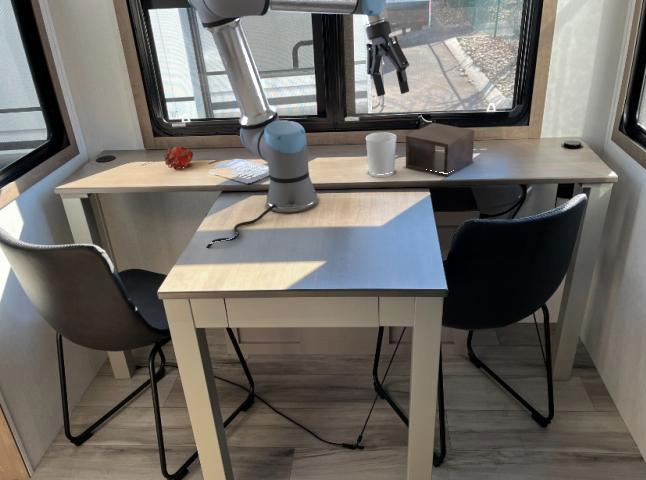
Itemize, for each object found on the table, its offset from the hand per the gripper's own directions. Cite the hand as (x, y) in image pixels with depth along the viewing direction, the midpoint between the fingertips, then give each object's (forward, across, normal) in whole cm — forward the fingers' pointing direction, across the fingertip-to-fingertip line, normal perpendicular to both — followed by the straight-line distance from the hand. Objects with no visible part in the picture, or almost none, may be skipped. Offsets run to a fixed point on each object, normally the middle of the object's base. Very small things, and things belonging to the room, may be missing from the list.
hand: (393, 94), depth 188 cm
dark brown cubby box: (+26, -4, -9) cm, 28 cm away
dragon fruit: (+5, +51, +61) cm, 79 cm away
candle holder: (+23, +2, +10) cm, 25 cm away
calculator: (+12, +31, +46) cm, 57 cm away
